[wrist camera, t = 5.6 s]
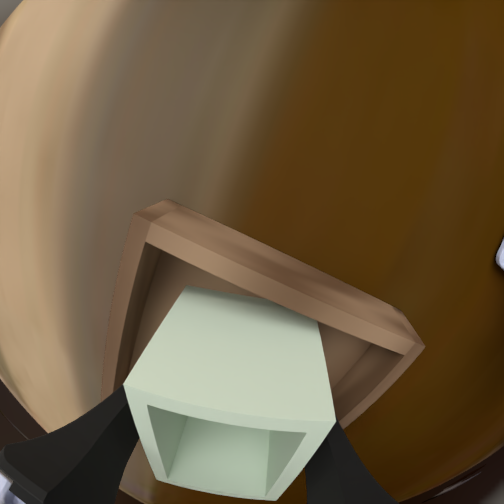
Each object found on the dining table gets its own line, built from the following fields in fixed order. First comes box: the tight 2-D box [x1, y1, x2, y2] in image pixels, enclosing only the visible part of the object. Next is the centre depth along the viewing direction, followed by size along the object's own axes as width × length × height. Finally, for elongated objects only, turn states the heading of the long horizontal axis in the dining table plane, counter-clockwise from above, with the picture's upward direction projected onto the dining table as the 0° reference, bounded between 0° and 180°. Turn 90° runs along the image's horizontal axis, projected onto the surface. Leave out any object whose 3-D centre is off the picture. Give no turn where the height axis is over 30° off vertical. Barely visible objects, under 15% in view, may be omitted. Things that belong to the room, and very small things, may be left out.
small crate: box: [123, 285, 336, 501], centre depth 10 cm, size 6×8×6 cm
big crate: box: [101, 199, 425, 429], centre depth 12 cm, size 12×12×3 cm
